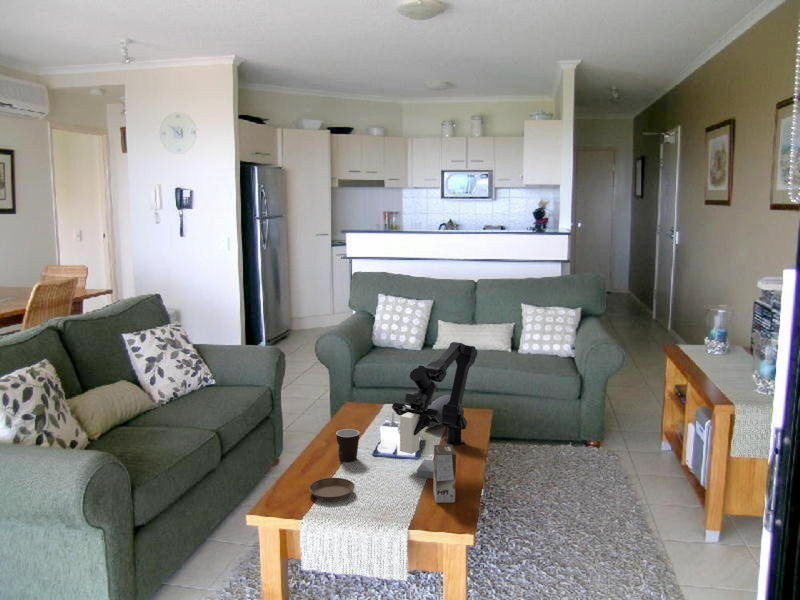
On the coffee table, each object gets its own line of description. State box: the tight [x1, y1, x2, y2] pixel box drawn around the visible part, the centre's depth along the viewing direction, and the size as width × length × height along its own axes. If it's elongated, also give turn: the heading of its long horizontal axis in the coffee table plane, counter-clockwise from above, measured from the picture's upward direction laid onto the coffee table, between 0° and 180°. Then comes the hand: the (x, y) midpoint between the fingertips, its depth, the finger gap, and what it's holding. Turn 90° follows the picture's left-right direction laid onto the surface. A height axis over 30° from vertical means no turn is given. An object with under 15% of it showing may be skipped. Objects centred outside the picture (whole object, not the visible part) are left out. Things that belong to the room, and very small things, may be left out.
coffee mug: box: [335, 428, 361, 463], centre depth 253 cm, size 12×9×10 cm
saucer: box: [308, 477, 356, 502], centre depth 223 cm, size 15×15×3 cm
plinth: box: [416, 459, 434, 480], centre depth 240 cm, size 10×10×2 cm
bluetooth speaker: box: [426, 394, 451, 428], centre depth 294 cm, size 23×9×10 cm, turn 155°
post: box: [399, 412, 421, 455], centre depth 243 cm, size 5×5×13 cm
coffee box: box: [432, 444, 457, 504], centre depth 220 cm, size 9×6×16 cm
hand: (407, 433), depth 241 cm, fingers closed on post, 5 cm apart
